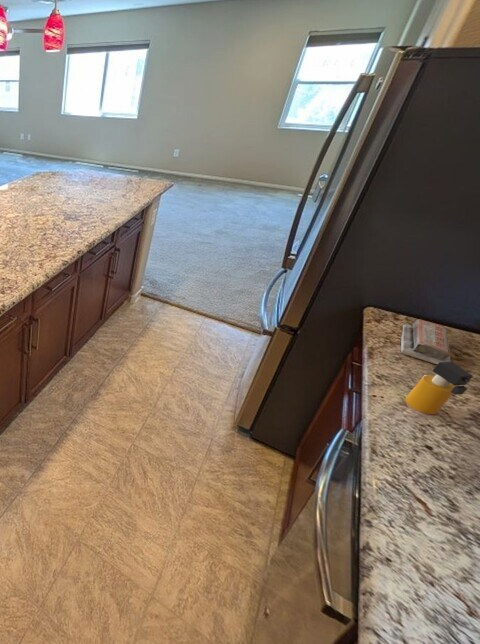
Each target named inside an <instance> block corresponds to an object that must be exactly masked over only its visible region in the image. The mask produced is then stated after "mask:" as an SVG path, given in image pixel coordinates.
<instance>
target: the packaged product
mask: <svg viewBox="0 0 480 644" xmlns="http://www.w3.org/2000/svg"><path fill="white" fill-rule="evenodd" d="M400 346H401V347H400V353H401V354H403V355H406V356H409V357H412V358H416V359H419V360H422V361H424V362H425V361H426V362H428V363H431V364H434V365H437V364H438V363H439V362H452V361H451V350H450V340H449V336H448V329H447V328H446V327H444V326H443V325H441V324H437V323H435V322H434V323H433V322H430V321H427V320H423V319H417V320H415V321H414V322H413V323H412V324H409V323H406V322H404V323H403V325H402V333H401V337H400Z"/></svg>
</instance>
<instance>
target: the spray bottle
mask: <svg viewBox="0 0 480 644" xmlns="http://www.w3.org/2000/svg"><path fill="white" fill-rule="evenodd" d="M432 372H433V373H434V374H435V375H431V374H425V375H423V376H422V377H421V379H420V380H419V381H418V382H417V384H415V386H414V387H413V389H412V390H411V391H409V394H408V395H406V397H405V402H406V404H407V405H408V406H409V407H411V408H413V410H415V411H418V412H420V413H423V414H426V415H435V414H437V413H438V412H439V410H440V409H441V408H442V407H443V406H444V405H445V404H446V403H447V401H448V400H449V399H450V398H451V397H452V396H453V395H454V394H453V393H451V391H452V389H453V388H454V387H455V386H466V385H467V384H468V383H470V382H471V379H472V378H473V377H474V375H473V374H471V373H470V372H468V371H466V370H465V369H463V368H461V367H460V366H458V365H457V364H455V363H454V362H452V361H451V362H439V363H438V364H436V365H435V367H434V368H433V369H432Z"/></svg>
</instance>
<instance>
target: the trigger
mask: <svg viewBox="0 0 480 644" xmlns="http://www.w3.org/2000/svg"><path fill="white" fill-rule="evenodd" d="M467 390H468V387H467V386H466V385H454V388H453V389H452V391H451V393H453V395H463V394H464V393H465V392H466V391H467Z"/></svg>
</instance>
